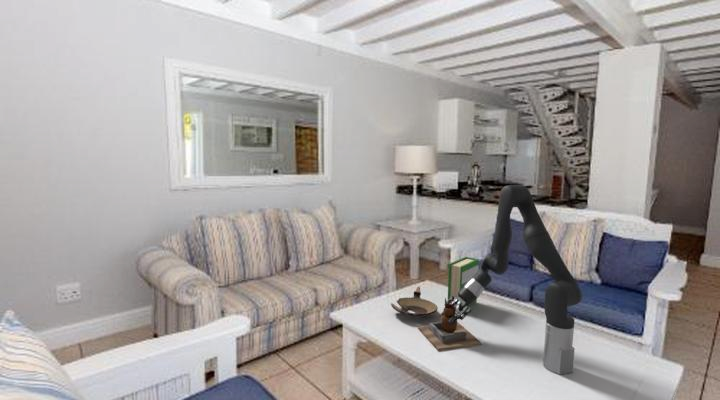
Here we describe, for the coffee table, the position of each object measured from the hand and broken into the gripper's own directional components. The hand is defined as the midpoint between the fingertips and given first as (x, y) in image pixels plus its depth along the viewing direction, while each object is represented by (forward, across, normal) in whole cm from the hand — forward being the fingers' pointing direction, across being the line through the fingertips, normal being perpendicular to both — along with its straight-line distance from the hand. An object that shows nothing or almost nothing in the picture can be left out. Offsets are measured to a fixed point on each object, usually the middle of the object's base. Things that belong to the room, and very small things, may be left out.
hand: (445, 320), depth 167 cm
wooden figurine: (+3, 0, +5) cm, 6 cm away
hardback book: (-12, -28, +23) cm, 38 cm away
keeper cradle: (+4, 0, +6) cm, 8 cm away
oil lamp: (+7, -27, +4) cm, 28 cm away
